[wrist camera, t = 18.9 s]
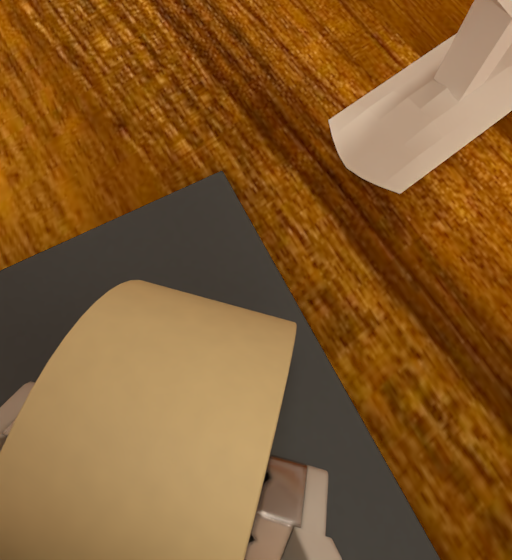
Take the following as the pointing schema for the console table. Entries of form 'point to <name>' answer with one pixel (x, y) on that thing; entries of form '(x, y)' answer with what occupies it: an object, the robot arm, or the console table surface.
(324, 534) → the robot arm
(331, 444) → the mat
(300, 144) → the console table surface
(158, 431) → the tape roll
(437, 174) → the console table surface
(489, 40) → the heart sculpture
